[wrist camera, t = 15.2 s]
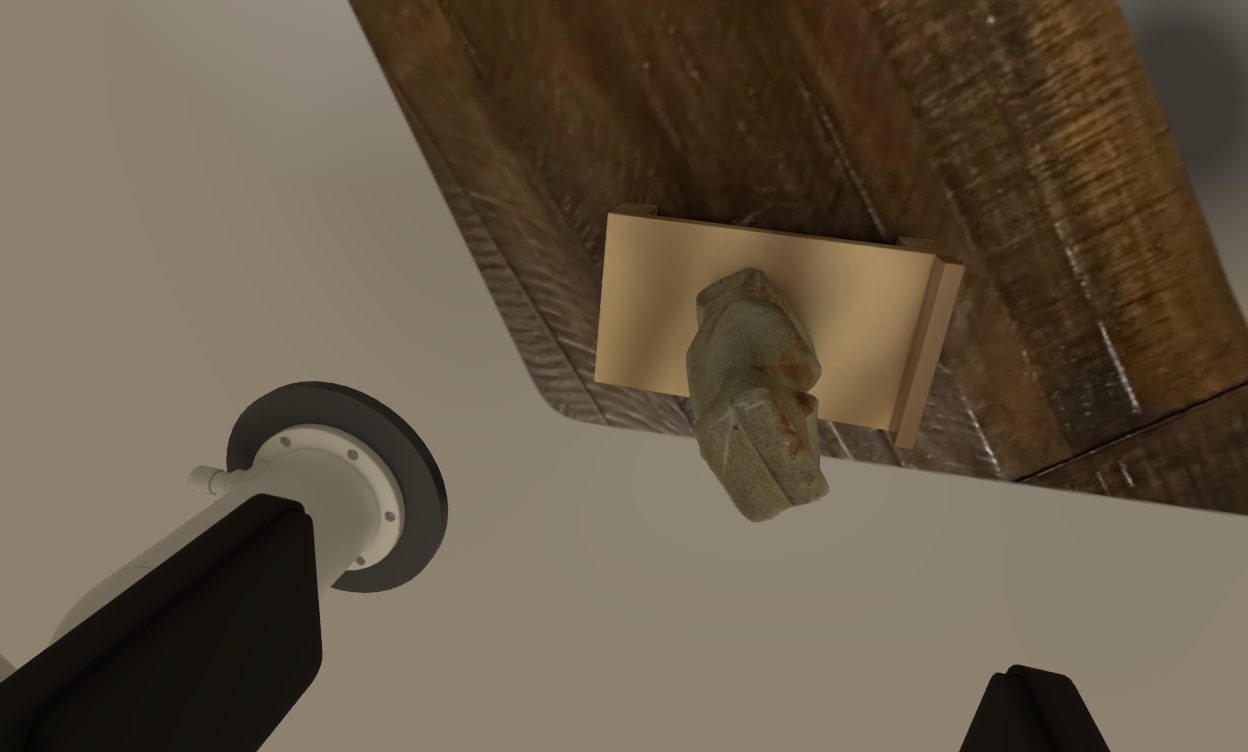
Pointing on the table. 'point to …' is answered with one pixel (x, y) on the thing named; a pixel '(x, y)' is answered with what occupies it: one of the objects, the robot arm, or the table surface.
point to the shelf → (811, 284)
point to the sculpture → (755, 396)
